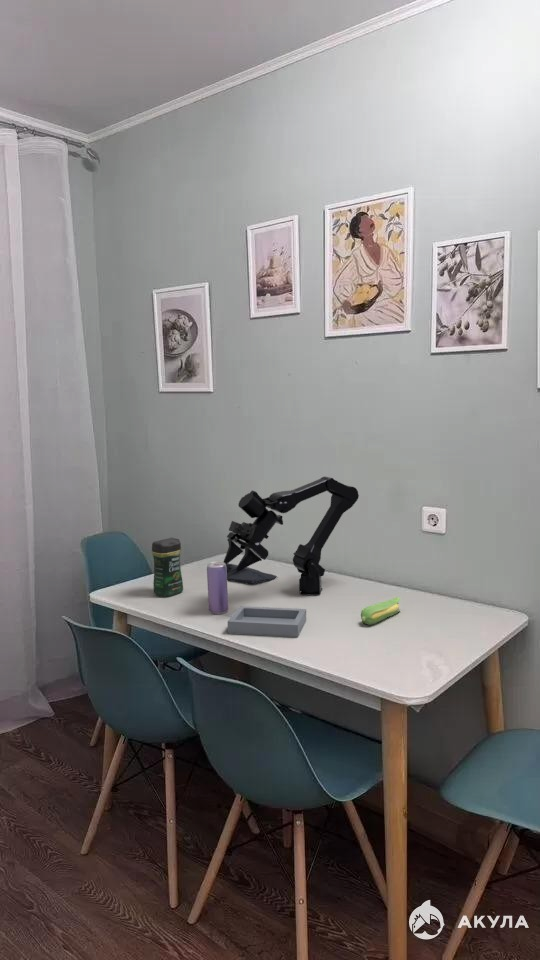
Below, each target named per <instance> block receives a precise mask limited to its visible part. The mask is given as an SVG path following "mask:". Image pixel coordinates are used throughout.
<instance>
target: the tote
mask: <svg viewBox="0 0 540 960" xmlns="http://www.w3.org/2000/svg"><path fill="white" fill-rule="evenodd" d="M231 615H232V616H230V618H229V619H228V620H227V622H226V623H227V634H231V635H248V636H249V635H250V636H252V635H253V636H265V637H266V636H268V637H285V638H287V637H289V638H299V636H300V634H301V633H302V631H303V628H304V627H305V624H306V623H307V609H306V608H292V607H291V608H289V607H269V606H268V607H267V606H249V605H248V606H246V605H244V606H243V605H239V607H238V608H237V609H235V611H234V613H233V614H231Z"/></svg>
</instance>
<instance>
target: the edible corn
mask: <svg viewBox="0 0 540 960" xmlns="http://www.w3.org/2000/svg"><path fill="white" fill-rule="evenodd" d="M401 599H402V597H400V596H397V597H394V598H391V599H388V600H385V601H382V602H379V603H376V604H375V603H374V604H371V605H369V606H366V607H364V608H363V609H362V610H361V612H360V619H361V622H362V623H363V624H365V625H370V626H372V625H375V624H377V623H379V622H381V621H383V620H385V619H387V617H388V618H390V617H392V616H394V615H396V614H399V613H401V612H400V611H401V610H399V608H400V605H399V602H400V600H401ZM398 612H399V613H398ZM389 616H390V617H389ZM371 624H372V625H371Z"/></svg>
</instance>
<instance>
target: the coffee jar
mask: <svg viewBox="0 0 540 960" xmlns="http://www.w3.org/2000/svg"><path fill="white" fill-rule="evenodd" d="M151 545H152V546H151V554H152V557H153V594H154V595H155V596H157V597H161V598H162V597H164V598H165V597H166V598H167V597H171V596H175V595H178V594H181V593H183V591H184V583H183V577H182V570H181V569H182V568H181V567H182V566H181V554H182V546H181V540H180V539H179V538H177V537H168V538H165V539H164V538H163V539H160V540H156V541H153V542H152V544H151Z"/></svg>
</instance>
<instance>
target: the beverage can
mask: <svg viewBox="0 0 540 960" xmlns="http://www.w3.org/2000/svg"><path fill="white" fill-rule="evenodd" d="M206 579H207V597H208V599H207V600H208V601H207V602H208V603H207V604H208V611H209V613H210V614H212V615H224V614H226V613H227V612H228V611H229V595H228V594H229V593H228V591H229V590H228V580H227V567H226V563H224V562H223V561H211V562H208V563H207V566H206ZM223 613H224V614H223Z"/></svg>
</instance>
